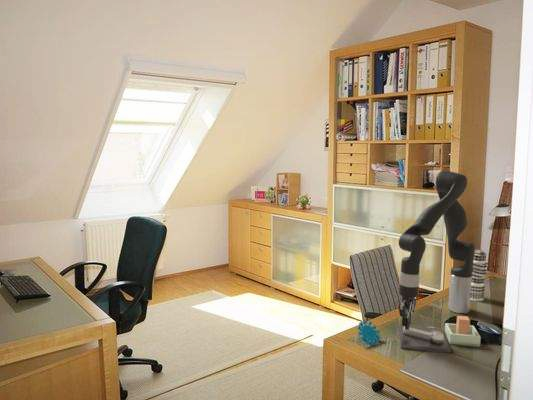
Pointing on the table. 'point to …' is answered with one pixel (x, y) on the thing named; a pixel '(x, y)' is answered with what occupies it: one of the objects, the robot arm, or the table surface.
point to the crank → (425, 333)
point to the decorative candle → (478, 276)
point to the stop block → (462, 325)
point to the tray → (462, 336)
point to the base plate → (421, 340)
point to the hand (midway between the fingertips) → (406, 324)
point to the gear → (368, 332)
